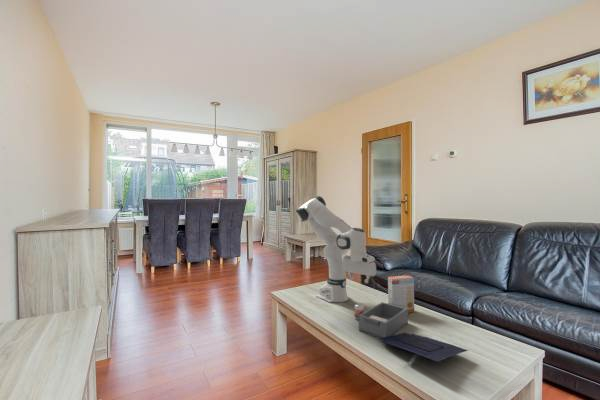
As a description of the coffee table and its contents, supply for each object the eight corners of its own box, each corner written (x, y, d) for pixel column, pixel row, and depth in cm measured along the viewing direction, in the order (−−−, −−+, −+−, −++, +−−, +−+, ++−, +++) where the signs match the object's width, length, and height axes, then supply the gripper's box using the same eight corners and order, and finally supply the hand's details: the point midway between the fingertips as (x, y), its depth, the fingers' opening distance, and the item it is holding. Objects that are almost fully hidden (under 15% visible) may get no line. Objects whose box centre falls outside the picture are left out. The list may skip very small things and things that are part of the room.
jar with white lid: (353, 319, 161) (352, 305, 161) (357, 316, 164) (357, 302, 164) (360, 321, 157) (360, 307, 157) (365, 319, 161) (365, 304, 161)
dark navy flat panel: (407, 337, 145) (407, 330, 145) (469, 357, 120) (468, 348, 121) (375, 345, 131) (375, 337, 132) (437, 369, 107) (437, 359, 107)
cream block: (365, 328, 146) (365, 319, 146) (372, 324, 151) (371, 315, 151) (383, 335, 139) (383, 324, 139) (389, 330, 145) (389, 320, 145)
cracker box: (409, 308, 175) (408, 274, 175) (414, 312, 169) (414, 277, 169) (387, 310, 173) (387, 276, 173) (392, 314, 167) (392, 278, 167)
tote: (357, 331, 146) (357, 315, 146) (383, 315, 166) (382, 301, 166) (385, 341, 135) (384, 324, 135) (408, 322, 155) (408, 308, 155)
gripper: (340, 255, 166) (340, 279, 166) (371, 260, 152) (372, 286, 152) (346, 254, 170) (346, 277, 170) (377, 258, 156) (378, 283, 156)
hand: (359, 281), depth 161 cm, fingers open, 8 cm apart
